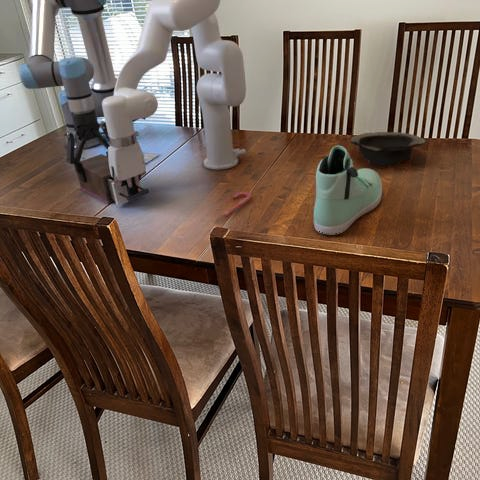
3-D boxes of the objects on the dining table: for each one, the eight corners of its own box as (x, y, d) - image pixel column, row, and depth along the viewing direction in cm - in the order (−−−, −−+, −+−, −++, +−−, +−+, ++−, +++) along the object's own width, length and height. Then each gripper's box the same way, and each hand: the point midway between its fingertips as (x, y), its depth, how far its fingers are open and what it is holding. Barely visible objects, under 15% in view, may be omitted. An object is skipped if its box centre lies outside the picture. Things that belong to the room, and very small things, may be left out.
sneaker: (389, 187, 148) (396, 123, 138) (356, 242, 123) (361, 168, 112) (346, 181, 154) (350, 119, 144) (306, 232, 129) (307, 161, 118)
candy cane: (211, 213, 142) (210, 209, 141) (240, 193, 152) (239, 189, 151) (227, 218, 139) (226, 213, 138) (255, 197, 149) (255, 193, 148)
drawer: (153, 200, 150) (149, 178, 147) (129, 211, 145) (124, 189, 141) (114, 181, 165) (110, 161, 161) (91, 190, 160) (85, 170, 156)
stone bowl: (383, 178, 153) (383, 150, 149) (335, 160, 174) (334, 135, 169) (439, 159, 162) (442, 132, 158) (387, 144, 182) (388, 120, 178)
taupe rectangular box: (135, 192, 158) (130, 166, 154) (108, 204, 153) (102, 177, 148) (107, 178, 170) (101, 153, 165) (80, 189, 164) (74, 163, 159)
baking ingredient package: (116, 165, 178) (140, 152, 189) (116, 167, 178) (140, 153, 189) (135, 168, 174) (158, 154, 186) (135, 169, 174) (158, 155, 186)
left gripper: (108, 100, 159) (121, 162, 170) (42, 118, 146) (62, 184, 157) (120, 103, 154) (133, 167, 166) (54, 122, 141) (72, 190, 153)
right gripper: (137, 130, 146) (147, 185, 155) (93, 144, 137) (106, 201, 147) (151, 135, 141) (160, 192, 151) (106, 150, 133) (119, 209, 142)
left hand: (98, 175), depth 162 cm, fingers closed on taupe rectangular box, 10 cm apart
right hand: (134, 196), depth 149 cm, fingers closed
